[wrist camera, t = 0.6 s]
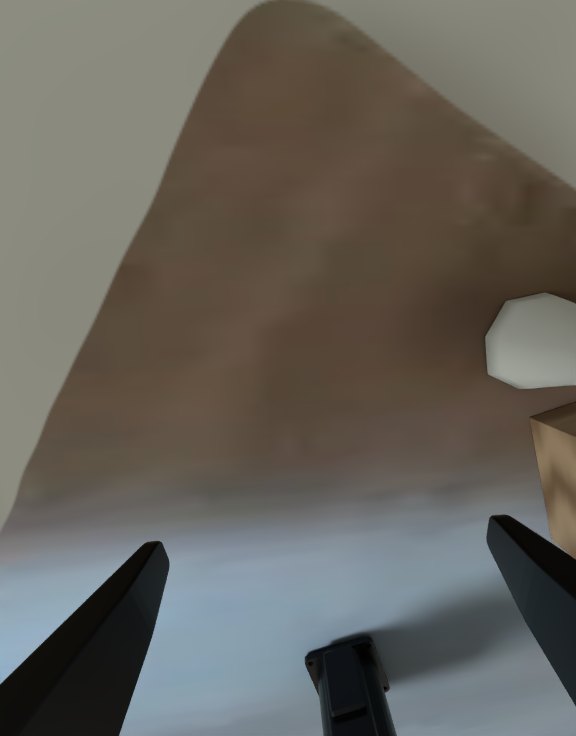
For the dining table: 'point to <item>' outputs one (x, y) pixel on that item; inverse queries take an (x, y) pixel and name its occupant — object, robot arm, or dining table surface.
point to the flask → (533, 342)
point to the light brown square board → (558, 471)
